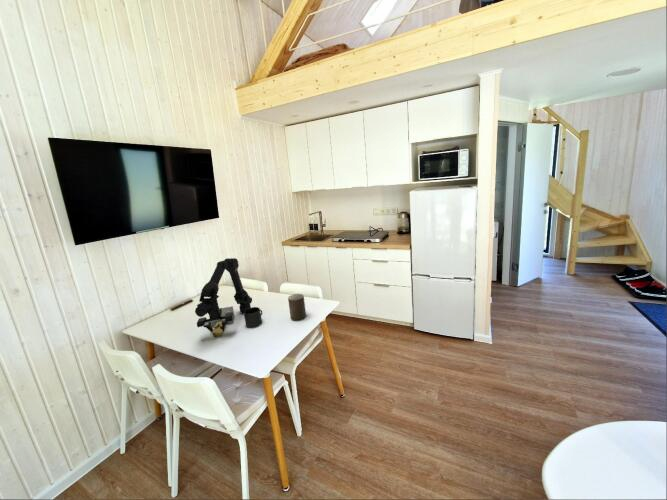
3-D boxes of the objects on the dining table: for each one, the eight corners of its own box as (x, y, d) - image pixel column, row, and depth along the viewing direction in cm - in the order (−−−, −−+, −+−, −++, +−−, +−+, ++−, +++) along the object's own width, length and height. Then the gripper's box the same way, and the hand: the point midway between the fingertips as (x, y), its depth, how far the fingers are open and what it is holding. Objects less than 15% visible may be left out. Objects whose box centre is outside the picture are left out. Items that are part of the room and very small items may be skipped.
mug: (268, 320, 168) (266, 306, 166) (253, 329, 159) (250, 315, 156) (258, 317, 173) (256, 304, 171) (242, 326, 164) (240, 312, 162)
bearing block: (215, 320, 175) (213, 309, 173) (234, 316, 177) (232, 305, 175) (212, 327, 165) (209, 316, 163) (232, 323, 168) (230, 312, 166)
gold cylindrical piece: (217, 326, 165) (215, 318, 164) (227, 324, 166) (225, 316, 165) (213, 338, 152) (210, 329, 150) (223, 336, 153) (221, 327, 152)
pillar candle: (303, 321, 163) (300, 298, 159) (288, 320, 165) (285, 298, 161) (308, 313, 172) (305, 291, 168) (293, 313, 174) (290, 291, 170)
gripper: (232, 299, 160) (237, 323, 164) (198, 305, 156) (204, 329, 160) (230, 307, 149) (235, 332, 153) (193, 313, 146) (199, 339, 149)
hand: (218, 333), depth 154 cm, fingers closed on gold cylindrical piece, 5 cm apart
